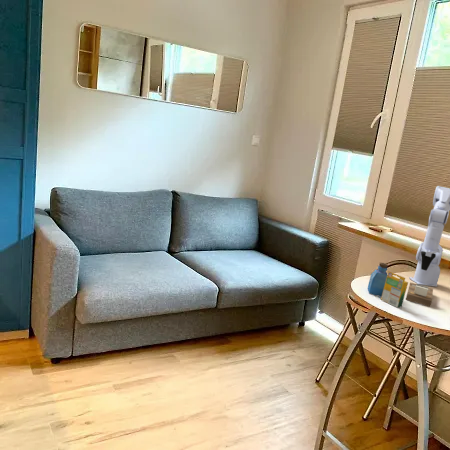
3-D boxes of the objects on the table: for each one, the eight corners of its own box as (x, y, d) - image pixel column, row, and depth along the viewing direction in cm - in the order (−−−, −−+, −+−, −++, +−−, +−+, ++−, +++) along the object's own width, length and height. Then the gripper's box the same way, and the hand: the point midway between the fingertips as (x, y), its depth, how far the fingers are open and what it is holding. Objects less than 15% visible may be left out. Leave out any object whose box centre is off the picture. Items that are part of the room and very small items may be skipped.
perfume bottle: (385, 297, 176) (393, 267, 174) (369, 293, 177) (376, 264, 175) (383, 292, 182) (390, 263, 180) (367, 288, 183) (374, 260, 181)
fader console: (408, 287, 193) (410, 282, 193) (431, 294, 190) (433, 288, 189) (405, 299, 177) (407, 293, 177) (430, 307, 174) (432, 300, 173)
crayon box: (401, 307, 168) (410, 277, 166) (397, 308, 167) (405, 278, 164) (385, 299, 174) (392, 270, 171) (380, 299, 172) (388, 270, 170)
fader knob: (414, 291, 180) (416, 283, 180) (426, 294, 179) (428, 286, 178) (414, 293, 178) (416, 285, 177) (426, 296, 176) (428, 288, 175)
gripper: (443, 243, 178) (433, 276, 181) (443, 237, 191) (434, 268, 194) (424, 239, 181) (415, 271, 184) (425, 233, 194) (417, 263, 197)
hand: (423, 269), depth 189 cm, fingers closed
